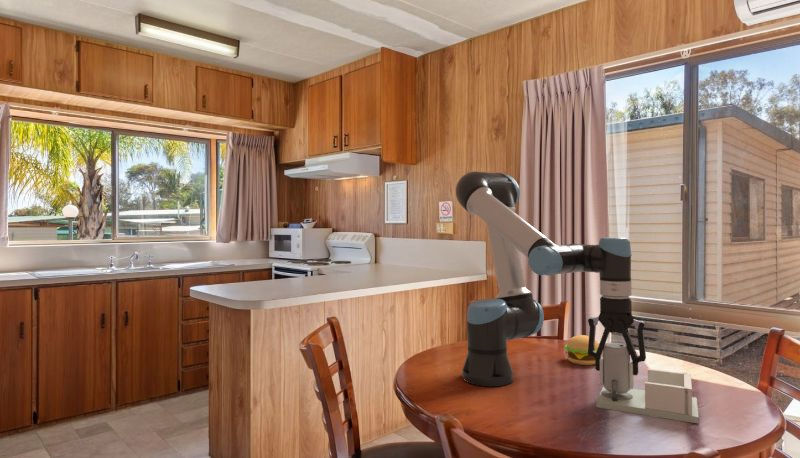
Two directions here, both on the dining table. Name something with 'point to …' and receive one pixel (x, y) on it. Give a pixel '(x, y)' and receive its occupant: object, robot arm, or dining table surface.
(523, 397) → the dining table surface
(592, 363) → the hamburger
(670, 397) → the housing
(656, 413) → the board
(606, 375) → the beverage can
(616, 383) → the pins
